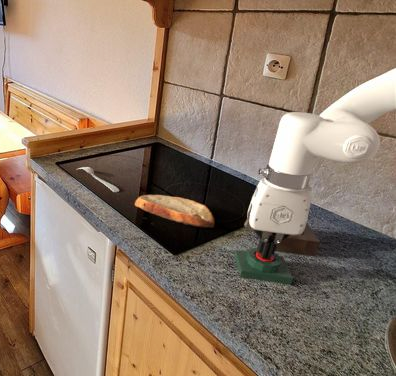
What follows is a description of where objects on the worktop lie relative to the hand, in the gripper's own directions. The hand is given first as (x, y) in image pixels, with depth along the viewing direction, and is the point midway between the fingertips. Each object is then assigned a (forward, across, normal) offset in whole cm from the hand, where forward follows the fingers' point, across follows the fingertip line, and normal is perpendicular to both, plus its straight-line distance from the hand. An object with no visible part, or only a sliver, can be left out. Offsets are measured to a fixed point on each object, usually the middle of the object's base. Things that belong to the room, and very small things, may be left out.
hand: (264, 255), depth 86 cm
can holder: (+4, +8, +14) cm, 17 cm away
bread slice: (+4, -18, +21) cm, 28 cm away
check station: (+4, 0, 0) cm, 4 cm away
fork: (+4, -41, +38) cm, 56 cm away
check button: (+2, 0, 0) cm, 2 cm away
